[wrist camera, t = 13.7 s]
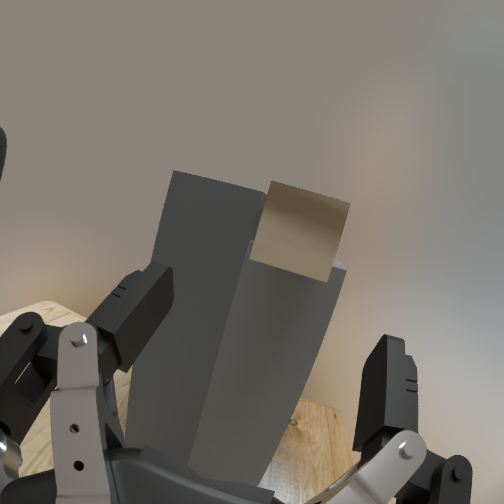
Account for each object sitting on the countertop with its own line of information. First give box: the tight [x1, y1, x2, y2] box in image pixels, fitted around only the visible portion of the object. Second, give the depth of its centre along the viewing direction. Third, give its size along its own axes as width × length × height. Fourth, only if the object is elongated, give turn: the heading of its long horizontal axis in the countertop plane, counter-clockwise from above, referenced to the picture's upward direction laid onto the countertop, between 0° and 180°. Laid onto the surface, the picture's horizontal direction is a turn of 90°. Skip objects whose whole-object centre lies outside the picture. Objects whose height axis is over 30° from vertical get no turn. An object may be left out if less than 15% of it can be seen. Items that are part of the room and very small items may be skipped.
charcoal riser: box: [125, 171, 347, 486], centre depth 34 cm, size 16×16×32 cm
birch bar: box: [249, 181, 350, 282], centre depth 27 cm, size 24×4×4 cm, turn 168°
